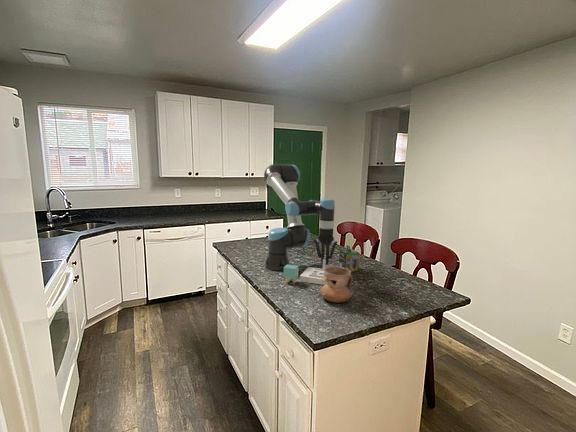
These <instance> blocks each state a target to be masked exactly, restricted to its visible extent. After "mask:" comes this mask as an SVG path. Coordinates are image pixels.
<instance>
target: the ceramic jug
mask: <svg viewBox="0 0 576 432" xmlns="http://www.w3.org/2000/svg"><path fill="white" fill-rule="evenodd" d="M324 275H325V278H323V279H321V281H322V282H325V281H326V282H327V284H326V285H322V287H321V288H320V291H319V292H320V295H321V297H322V298H323V299H324V300H326V301H328V302H331V303H337V304H339V303H340V304H341V303H344V302H348V301H350V299H351V298H352V291H351V290H350V287H351V285H352V282H353V276H352V272H351V271H350V270H349V269H347V268H344V267H339V265H332V266H331V265H330V266H329V267H326V268H325V269H324Z"/></svg>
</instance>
